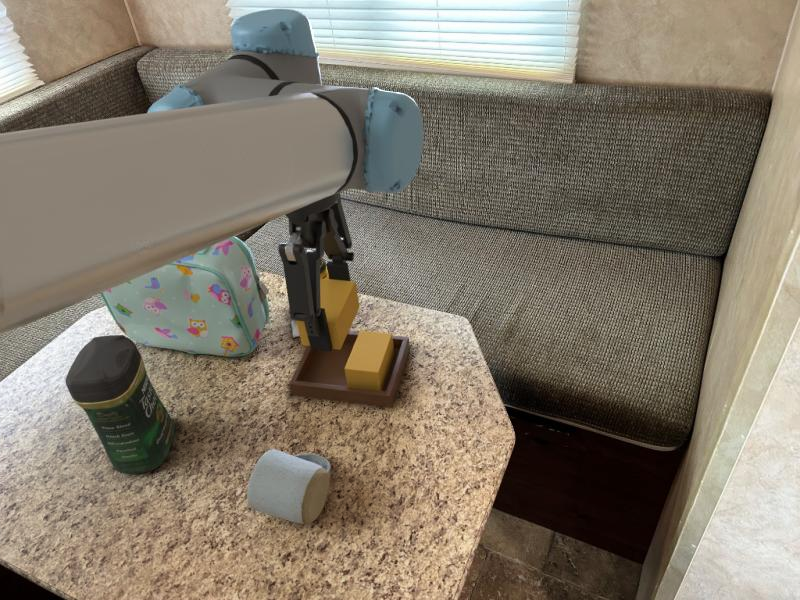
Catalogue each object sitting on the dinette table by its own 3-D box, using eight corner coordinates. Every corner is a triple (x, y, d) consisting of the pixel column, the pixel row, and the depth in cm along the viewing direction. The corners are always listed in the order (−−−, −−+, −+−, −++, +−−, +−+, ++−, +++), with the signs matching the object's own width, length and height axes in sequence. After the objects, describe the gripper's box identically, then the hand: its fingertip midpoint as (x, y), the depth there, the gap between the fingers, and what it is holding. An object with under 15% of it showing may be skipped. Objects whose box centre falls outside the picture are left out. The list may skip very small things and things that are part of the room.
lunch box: (287, 324, 105) (259, 218, 91) (262, 367, 97) (228, 258, 84) (152, 309, 111) (107, 208, 97) (119, 348, 103) (66, 244, 90)
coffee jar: (167, 474, 83) (115, 380, 71) (109, 479, 83) (48, 386, 71) (182, 418, 90) (139, 325, 78) (130, 423, 90) (78, 331, 78)
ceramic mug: (312, 539, 73) (301, 502, 69) (253, 521, 76) (239, 485, 71) (346, 468, 81) (338, 431, 76) (292, 454, 84) (281, 417, 79)
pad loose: (340, 349, 76) (335, 324, 73) (302, 345, 77) (295, 319, 74) (359, 306, 82) (355, 281, 79) (323, 303, 83) (318, 277, 81)
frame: (391, 408, 88) (389, 396, 87) (292, 395, 92) (288, 383, 90) (410, 348, 98) (408, 336, 96) (319, 339, 101) (316, 327, 100)
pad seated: (381, 393, 90) (378, 372, 87) (348, 389, 91) (344, 368, 88) (394, 353, 96) (392, 333, 93) (363, 350, 97) (360, 330, 95)
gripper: (297, 224, 56) (334, 387, 71) (362, 126, 72) (382, 277, 86) (224, 219, 58) (275, 379, 73) (303, 125, 74) (332, 272, 88)
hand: (333, 324), depth 80 cm, fingers closed on pad loose, 8 cm apart
